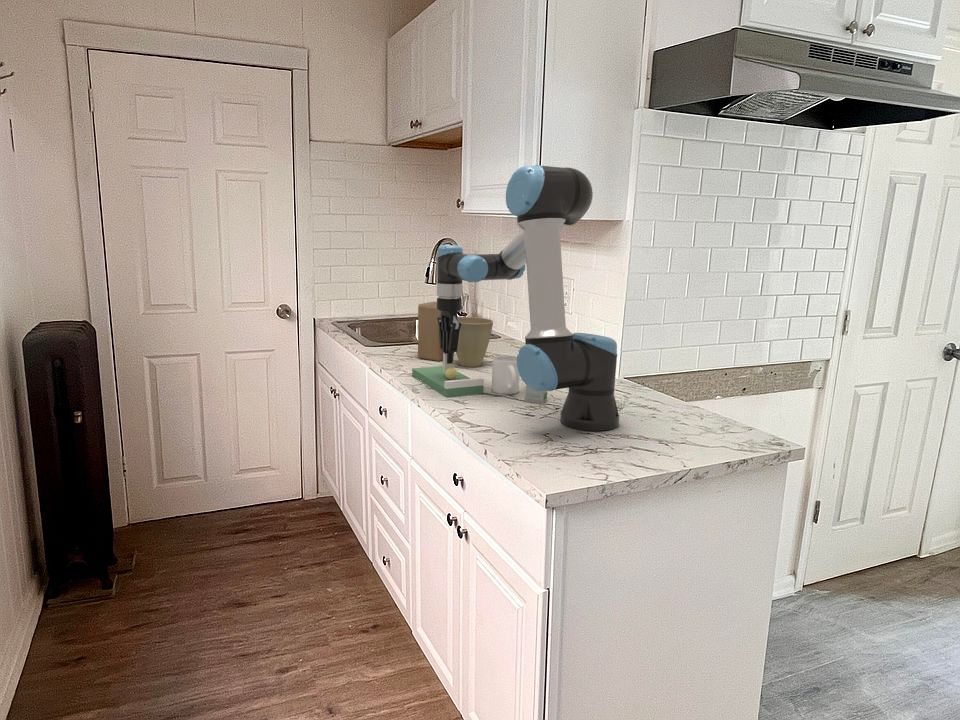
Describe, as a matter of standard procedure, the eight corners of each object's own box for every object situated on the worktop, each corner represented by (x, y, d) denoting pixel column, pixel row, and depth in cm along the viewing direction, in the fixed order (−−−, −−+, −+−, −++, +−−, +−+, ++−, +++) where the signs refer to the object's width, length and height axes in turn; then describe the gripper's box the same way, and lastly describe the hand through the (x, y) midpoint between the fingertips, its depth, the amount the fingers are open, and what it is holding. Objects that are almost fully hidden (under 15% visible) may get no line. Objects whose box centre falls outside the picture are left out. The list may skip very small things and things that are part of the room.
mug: (527, 397, 204) (528, 363, 202) (500, 398, 201) (501, 364, 199) (513, 387, 215) (515, 354, 213) (488, 388, 213) (489, 355, 210)
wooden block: (455, 357, 256) (455, 303, 251) (439, 362, 247) (439, 306, 243) (433, 353, 261) (433, 300, 257) (416, 358, 253) (417, 303, 248)
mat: (483, 393, 207) (483, 378, 206) (446, 397, 202) (446, 382, 201) (445, 372, 231) (446, 359, 230) (412, 375, 226) (412, 362, 225)
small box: (543, 404, 198) (544, 387, 197) (523, 401, 199) (524, 385, 198) (547, 398, 203) (548, 382, 202) (528, 397, 205) (529, 380, 204)
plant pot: (468, 371, 234) (469, 325, 230) (441, 363, 245) (441, 319, 241) (500, 366, 243) (502, 321, 240) (473, 358, 254) (474, 315, 251)
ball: (459, 371, 211) (455, 364, 214) (448, 372, 209) (444, 365, 212) (457, 381, 213) (453, 374, 215) (447, 382, 211) (442, 375, 214)
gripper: (469, 299, 205) (467, 376, 211) (452, 294, 217) (450, 367, 222) (446, 300, 202) (445, 379, 207) (429, 294, 214) (428, 369, 219)
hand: (448, 373), depth 215 cm, fingers closed
